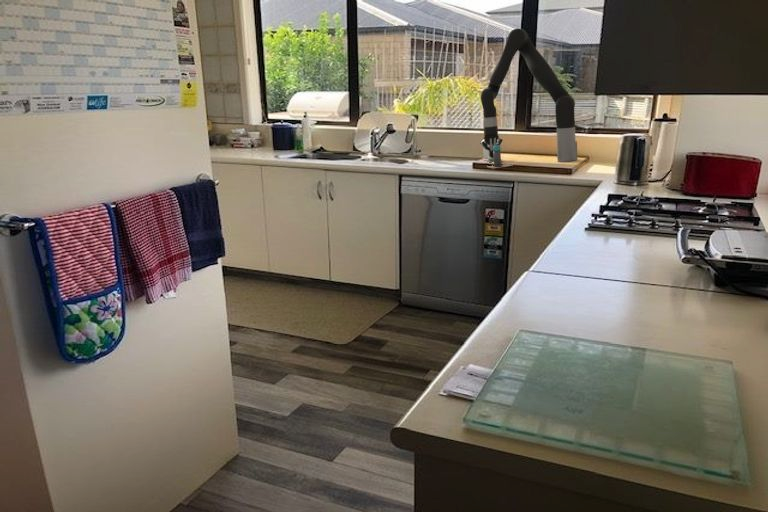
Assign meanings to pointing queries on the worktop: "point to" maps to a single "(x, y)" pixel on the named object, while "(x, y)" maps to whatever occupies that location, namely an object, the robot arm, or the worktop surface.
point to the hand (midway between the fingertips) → (492, 157)
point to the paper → (499, 166)
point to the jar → (486, 152)
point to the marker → (497, 155)
